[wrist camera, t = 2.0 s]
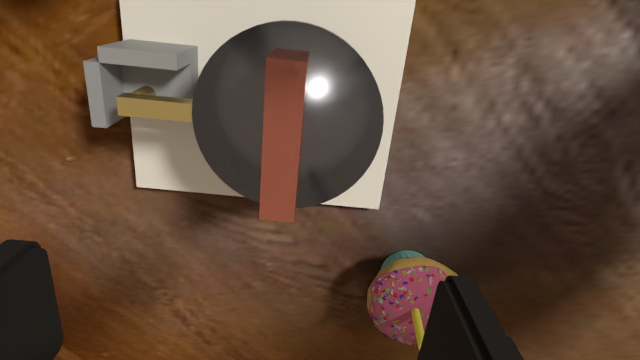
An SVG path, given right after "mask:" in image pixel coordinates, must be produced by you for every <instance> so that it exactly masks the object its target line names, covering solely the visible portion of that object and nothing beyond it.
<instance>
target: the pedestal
mask: <svg viewBox="0 0 640 360" xmlns="http://www.w3.org/2000/svg"><path fill="white" fill-rule="evenodd" d="M119 2H120V13H121V24H122V34H123V41H119V42H114V43H110V44H105V45H101V46H97V51H98V57H96V58H92V59H89V60H85V61H83V64H84V71H85V79H86V86H87V94H88V101H89V109H90V116H91V124H92V127H100V128H108V127H109V126H111V125H113V124H114V123H116V122H118V121H119V120H121V119H122V118H124V117H126V116H118V110H117V100H116V96H118V95H121V94H123V93H131V92H133V91H135V90H137V89H139V88H141V87H143V86H150V87H152V88H153V89H154V90H155V91H156V96H165V97H175V98H186V99H193V95H194V90H195V87H196V84H197V81H198V78H199V76H200V74H201V72H202V70H203V68H204V66H205V64H206V63H207V62H208V60H209V59H210V57H211V56H212V55H213V54H214V53H215V51H216V50H217V49H218V48H219V47H220V46H221V45H223V44H224V43H225V42H226V41H228V40H229V39H230V38H232V37H233V36H235V35H237V34H238V33H240V32H242V31H244V30H246V29H249V28H251V27H254V26H256V25H259V24H263V23H267V22H271V21H280V20H295V21H302V22H308V23H312V24H315V25H318V26H321V27H323V28H325V29H327V30H329V31H332V32H334V33H335V34H337V35H338V36H340V37H341V38H343V39H344V40H345V41H346V42H348V43H349V44H350V45H351V46H352V47H353V48H354V49H355V50H356V51H357V52H358V53H359V55H360V56H361V57H362V58H363V60H364V61H365V63H366V64H367V66H368V67H369V69H370V70H371V72H372V74H373V76H374V78H375V80H376V83H377V85H378V88H379V91H380V94H381V98H382V104H383V114H384V124H383V133H382V138H381V142H380V146H379V148H378V151H377V153H376V156H375V158H374V160H373V161H372V163H371V165H370V167H369V168H368V169H367V171H366V172H365V174H364V175H363V176H362V177H361V178H360V179H359V180H358V181H357V182H356V183H355V184H354V185H353V186H352V187H351V188H349V189H348V190H347V191H345V192H344V193H342V194H341V195H339V196H337V197H336V198H333V199H331V200H329V201H327V202H324V203H321V204H327V205H337V206H348V207H359V208H370V209H379V205H380V199H381V193H382V188H383V182H384V177H385V171H386V165H387V160H388V154H389V148H390V143H391V137H392V132H393V126H394V120H395V115H396V109H397V103H398V98H399V92H400V87H401V81H402V75H403V70H404V64H405V58H406V53H407V47H408V42H409V36H410V30H411V25H412V19H413V13H414V8H415V2H416V0H119ZM127 117H128V116H127ZM130 120H131V131H132V142H133V152H134V163H135V174H136V185H137V187H143V188H153V189H164V190H175V191H186V192H197V193H208V194H218V195H229V196H240V197H244V196H242V195H241V194H239V193H237V192H236V191H234V190H233V189H231V188H230V187H229V186H228V185H226V184H225V183H224V182H223V181H222V180H221V179H220V178H219V177H218V176H217V175H216V174H215V173H214V171H213V170H212V169H211V167H210V166H209V165H208V163H207V162H206V160H205V158H204V156H203V155H202V153H201V151H200V148H199V146H198V143H197V140H196V137H195V133H194V129H193V123H190V122H179V121H169V120H159V119H149V118H138V117H130Z"/></svg>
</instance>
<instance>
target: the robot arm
mask: <svg viewBox="0 0 640 360" xmlns="http://www.w3.org/2000/svg"><path fill="white" fill-rule="evenodd" d="M62 342H63V333H62V327H61V322H60V317H59V312H58V306H57V301H56V296H55V291H54V286H53V280H52V275H51V270H50V265H49V260H48V254H47V251H46V250H45V249H43V248H41V247H40V245H39V244H38V243H37V242H35V241H23V240H6V241H4V242H3V243H1V244H0V360H53V359H54V357H55V356H56V355H57V353H58V352H59V350H60V348H61V345H62ZM417 360H524V359H523V358H522V356H521V354H520V352H519V351H518V349H517V347H516V345H515V344H514V342H513V341H512V340H511V338H509V337H508V336H506V334H505V333H504V331H503V329H502V327H501V325H500V324H499V322H498V320H497V318H496V317H495V315H494V313H493V311H492V310H491V308H490V306H489V304H488V302H487V301H486V299H485V297H484V295H483V294H482V292H481V290H480V288H479V287H478V285H477V283H476V281H475V280H474V279H473V278H472V277H465V276H453V275H449V276H447V277H446V279H445V281H439V283H438V285H437V289H436V292H435V296H434V300H433V303H432V307H431V311H430V314H429V318H428V322H427V325H426V329H425V333H424V336H423V340H422V344H421V348H420V351H419V355H418V359H417Z"/></svg>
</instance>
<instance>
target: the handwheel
mask: <svg viewBox="0 0 640 360" xmlns="http://www.w3.org/2000/svg"><path fill="white" fill-rule="evenodd" d="M116 100H117V110H118V116H128V117H138V118H149V119H159V120H169V121H179V122H190V123H193V129H194V133H195V137H196V140H197V143H198V146H199V148H200V151H201V153H202V155H203V156H204V158H205V160H206V162H207V163H208V165H209V166H210V167H211V169H212V170H213V171H214V173H215V174H216V175H217V176H218V177H219V178H220V179H221V180H222V181H223V182H224V183H225V184H226V185H228V186H229V187H230V188H231V189H233V190H234V191H236V192H237V193H239V194H241V195H242V196H244V197H246V198H248V199H250V200H253V201H255V202H258V203H260V209H259V220H270V221H281V222H292V223H294V218H295V210H296V208H304V207H309V206H314V205H318V204H321V203H324V202H327V201H329V200H331V199H333V198H336V197H337V196H339V195H341V194H342V193H344V192H345V191H347V190H348V189H349V188H351V187H352V186H353V185H354V184H355V183H356V182H357V181H358V180H359V179H360V178H361V177H362V176H363V175H364V174H365V172H366V171H367V169H368V168H369V167H370V165H371V163H372V161H373V160H374V158H375V156H376V153H377V151H378V148H379V146H380V142H381V138H382V133H383V124H384V114H383V104H382V98H381V94H380V91H379V88H378V85H377V83H376V80H375V78H374V76H373V74H372V72H371V70H370V69H369V67H368V66H367V64H366V63H365V61H364V60H363V58H362V57H361V56H360V55H359V53H358V52H357V51H356V50H355V49H354V48H353V47H352V46H351V45H350V44H349V43H348V42H346V41H345V40H344V39H343V38H341V37H340V36H338V35H337V34H335V33H334V32H332V31H329V30H327V29H325V28H323V27H321V26H318V25H315V24H312V23H308V22H302V21H295V20H280V21H271V22H267V23H263V24H259V25H256V26H254V27H251V28H249V29H246V30H244V31H242V32H240V33H238V34H237V35H235V36H233V37H232V38H230V39H229V40H228V41H226V42H225V43H224V44H223V45H221V46H220V47H219V48H218V49H217V50H216V51H215V53H214V54H213V55H212V56H211V57H210V59H209V60H208V62H207V63H206V64H205V66H204V68H203V70H202V72H201V74H200V76H199V78H198V81H197V84H196V87H195V90H194V95H193V99H186V98H175V97H165V96H156V91H155V90H154V89H153V88H152V87H150V86H143V87H141V88H139V89H137V90H135V91H133V92H131V93H123V94H121V95H118V96H116Z"/></svg>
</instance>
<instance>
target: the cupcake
mask: <svg viewBox="0 0 640 360" xmlns="http://www.w3.org/2000/svg"><path fill="white" fill-rule="evenodd" d="M449 275H453V276H458V275H457V274H456V273H455V272H454V271H452V270H451V269H449V268H448V267H446V266H444V265H442V264H441V263H439V262H437V261H434V260H432V259H429V258H425V257H424V256H423V255H422V254H420V253H418V252H415V251H410V250H405V251H399V252H396V253H394V254H392V255H390V256H389V257H388V258H387V259H386V260H385V261H384V263H383V264H382V267H381V270H380V271H379V272H378V274H377V276H376V278H375V279H374V280H373V282H372V283H371V285H370V287H369V288H368V292H367V308H368V311H369V314H370V316H371V317H372V319H373V322H374V326H376V328H378V329H379V330H380V332H382V334H385V336H386V337H387V336H389V337H390V338H391V339H393V340H396V341H398V342H401V343H403V344H406V343H408V344H409V345H411V343H413V344H418V348H419V350H420V348H421V344H422V340H423V336H424V333H425V329H426V325H427V322H428V318H429V314H430V311H431V307H432V303H433V300H434V296H435V292H436V289H437V285H438V283H439V281H445V279H446V277H447V276H449Z"/></svg>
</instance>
